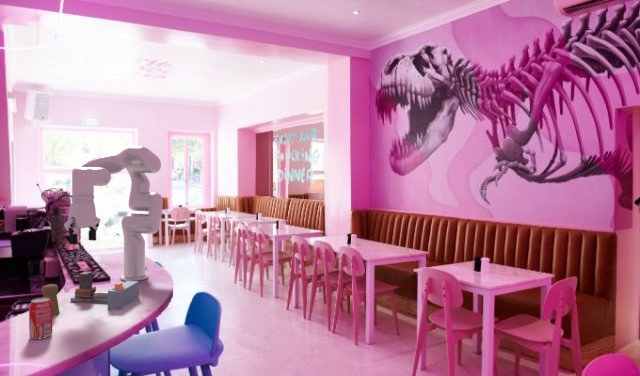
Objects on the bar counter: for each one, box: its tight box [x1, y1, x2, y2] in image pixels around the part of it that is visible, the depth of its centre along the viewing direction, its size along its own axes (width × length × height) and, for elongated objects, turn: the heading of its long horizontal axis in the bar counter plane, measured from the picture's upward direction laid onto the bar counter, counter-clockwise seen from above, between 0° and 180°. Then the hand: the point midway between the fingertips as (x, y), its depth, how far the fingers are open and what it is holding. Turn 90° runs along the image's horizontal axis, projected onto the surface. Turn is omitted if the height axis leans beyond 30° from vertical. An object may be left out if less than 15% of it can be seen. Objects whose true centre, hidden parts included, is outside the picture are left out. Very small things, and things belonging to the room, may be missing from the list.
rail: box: [70, 290, 108, 304], centre depth 179 cm, size 6×19×4 cm, turn 86°
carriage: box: [74, 271, 97, 298], centre depth 179 cm, size 4×6×9 cm
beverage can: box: [28, 297, 53, 340], centre depth 140 cm, size 6×6×12 cm
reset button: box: [113, 282, 124, 290], centre depth 172 cm, size 3×3×6 cm
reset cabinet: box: [107, 280, 140, 310], centre depth 176 cm, size 15×5×7 cm, turn 176°
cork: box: [41, 283, 60, 318], centre depth 161 cm, size 6×6×11 cm
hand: (83, 242), depth 175 cm, fingers open, 9 cm apart
